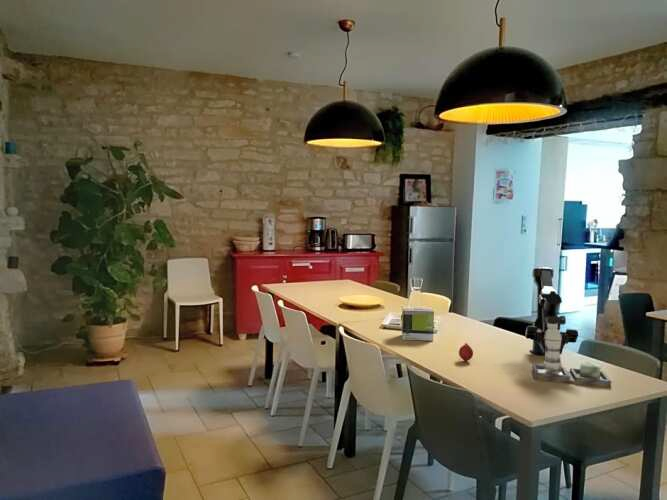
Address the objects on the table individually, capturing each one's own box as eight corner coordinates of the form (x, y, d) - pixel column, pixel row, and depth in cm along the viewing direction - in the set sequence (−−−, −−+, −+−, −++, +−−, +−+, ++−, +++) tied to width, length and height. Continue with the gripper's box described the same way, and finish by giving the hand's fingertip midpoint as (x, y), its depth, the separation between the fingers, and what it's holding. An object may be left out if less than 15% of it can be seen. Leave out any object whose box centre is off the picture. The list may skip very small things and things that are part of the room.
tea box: (431, 336, 258) (432, 307, 257) (433, 341, 248) (434, 311, 247) (401, 334, 260) (402, 306, 258) (401, 340, 250) (403, 310, 248)
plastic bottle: (552, 369, 205) (551, 319, 203) (566, 374, 199) (565, 323, 197) (539, 372, 202) (539, 322, 200) (553, 377, 196) (553, 325, 194)
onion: (462, 358, 221) (463, 340, 221) (474, 361, 218) (475, 342, 217) (456, 361, 217) (457, 342, 216) (468, 364, 213) (469, 345, 213)
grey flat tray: (535, 379, 197) (536, 364, 196) (532, 370, 208) (533, 355, 208) (610, 387, 190) (611, 371, 189) (602, 377, 201) (604, 362, 201)
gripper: (528, 305, 205) (529, 339, 195) (579, 309, 200) (583, 344, 190) (524, 321, 213) (526, 354, 203) (573, 325, 208) (577, 359, 198)
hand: (552, 352), depth 199 cm, fingers closed on plastic bottle, 6 cm apart
